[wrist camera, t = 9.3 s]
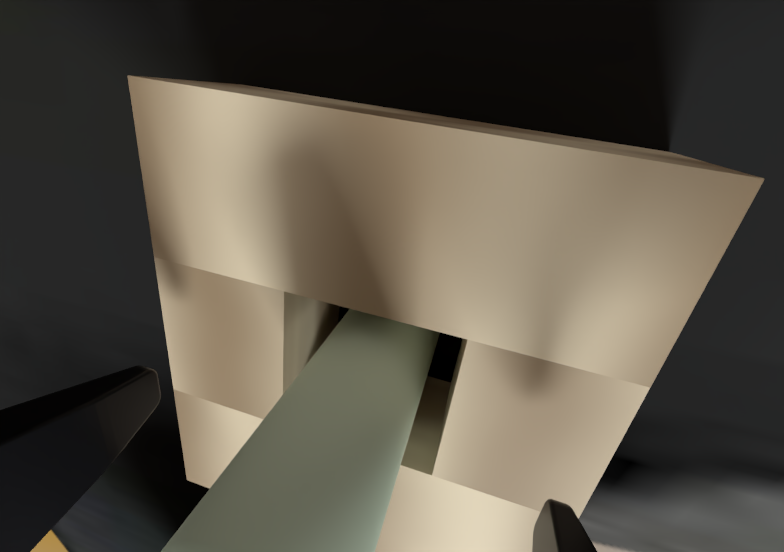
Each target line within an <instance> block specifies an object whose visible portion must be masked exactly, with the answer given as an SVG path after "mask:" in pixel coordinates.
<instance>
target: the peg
mask: <svg viewBox="0 0 784 552" xmlns="http://www.w3.org/2000/svg"><path fill="white" fill-rule="evenodd" d="M439 334H440V332H437V331H433V330H429V329H425V328H422V327H418V326H414V325H410V324H406V323H403V322H399V321H395V320H391V319H387V318H384V317H380V316H376V315H372V314H368V313H365V312H361V311H357V310H353V309H349V310H348V312H347V313H346V314H345V316H344V317H343V318H342V319H341V321H340V322H339V323H338V325H337V326H336V327H335V328H334V330H333V331H332V332H331V334H330V335H329V336H328V337H327V339H326V340H325V341H324V343H323V344H322V345H321V346H320V348H319V349H318V350H317V352H316V353H315V354H314V355H313V357H312V358H311V359H310V361H309V362H308V363H307V364H306V366H305V367H304V368H303V370H302V371H301V372H300V373H299V375H298V376H297V377H296V379H295V380H294V381H293V382H292V384H291V385H290V386H289V388H288V389H287V390H286V391H285V393H284V394H283V395H282V397H281V398H280V399H279V400H278V402H277V403H276V404H275V406H274V407H273V408H272V409H271V411H270V412H269V413H268V415H267V416H266V417H265V418H264V420H263V421H262V422H261V424H260V425H259V426H258V427H257V429H256V430H255V431H254V433H253V434H252V435H251V436H250V438H249V439H248V440H247V442H246V443H245V444H244V445H243V447H242V448H241V449H240V450H239V452H238V453H237V454H236V456H235V457H234V458H233V459H232V461H231V462H230V463H229V465H228V466H227V467H226V468H225V470H224V471H223V472H222V474H221V475H220V476H219V477H218V479H217V480H216V481H215V483H214V484H213V485H212V486H211V488H210V489H209V490H208V492H207V493H206V494H205V495H204V497H203V498H202V499H201V501H200V502H199V503H198V504H197V506H196V507H195V508H194V510H193V511H192V512H191V513H190V515H189V516H188V517H187V519H186V520H185V521H184V522H183V524H182V525H181V526H180V528H179V529H178V530H177V531H176V533H175V534H174V535H173V537H172V538H171V539H170V540H169V542H168V543H167V544H166V546H165V547H164V548H163V550H162V551H161V552H375V549H376V546H377V543H378V539H379V536H380V533H381V529H382V526H383V522H384V519H385V516H386V512H387V509H388V506H389V502H390V499H391V496H392V492H393V489H394V486H395V482H396V479H397V475H398V472H399V469H400V465H401V462H402V459H403V455H404V452H405V449H406V445H407V442H408V439H409V435H410V432H411V428H412V425H413V422H414V418H415V415H416V412H417V408H418V405H419V402H420V398H421V395H422V392H423V388H424V385H425V381H426V378H427V375H428V371H429V368H430V365H431V361H432V358H433V355H434V351H435V348H436V345H437V341H438V338H439Z"/></svg>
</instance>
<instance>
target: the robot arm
mask: <svg viewBox="0 0 784 552" xmlns="http://www.w3.org/2000/svg"><path fill="white" fill-rule="evenodd" d="M160 398H161V393H160V387H159V381H158V375H157V372H156V371H155V370H153V369H150V368H147V367H144V366H134V367H131V368H128V369H125V370H122V371H119V372H116V373H113V374H110V375H107V376H104V377H101V378H97V379H94V380H91V381H88V382H85V383H82V384H79V385H76V386H73V387H70V388H67V389H64V390H61V391H58V392H54V393H51V394H48V395H45V396H42V397H39V398H36V399H33V400H30V401H27V402H24V403H21V404H18V405H15V406H11V407H8V408H5V409H2V410H0V552H30V551H31V550H32V549H33V548H34V547H35V546H36V545H37V543H39V541H41V539H42V538H43V537H44V536H45V535H46V534H47V533H48V532H49V531H50V530H51V529H52V528H53V527H54V525H55V524H56V523H57V522H58V521H59V520H60V519H61V518H62V517H63V516H64V515H65V514H66V513H67V511H68V510H69V509H70V508H71V507H72V506H73V505H74V504H75V503H76V502H77V501H78V500H79V499H80V497H81V496H82V495H83V494H84V493H85V492H86V491H87V490H88V489H89V488H90V487H91V486H92V485H93V484H94V482H95V481H96V480H97V479H98V478H99V477H100V476H101V475H102V474H103V473H104V472H105V470H106V469H107V468H108V467H109V466H110V465H111V464H112V463H113V461H114V460H115V459H116V458H117V456H118V455H119V454H120V453H121V451H122V450H123V449H124V448H125V446H126V445H127V444H128V443H129V441H130V440H131V439H132V437H133V436H134V435H135V434H136V432H137V431H138V430H139V429H140V427H141V426H142V425H143V423H144V422H145V421H146V420H147V418H148V417H149V416H150V415H151V413H152V412H153V411H154V410H155V408H156V407H157V405H158V404H159V401H160ZM532 552H597V551H596V549H595V547H594V545H593V544H592V542H591V540H590V538H589V537H588V535H587V533H586V531H585V530H584V528H583V526H582V524H581V523H580V521H579V519H578V518H577V516H576V514H575V512H574V511H573V509H572V508H571V507H570V506H569V505H568V504H565V503H562V502H559V501H556V500H553V499H548V500H547V501H546V502H545V504H544V506H543V508H542V510H541V512H540V514H539V516H538V518H537V521H536V523H535V526H534V530H533V545H532Z"/></svg>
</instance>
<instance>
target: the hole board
mask: <svg viewBox="0 0 784 552" xmlns="http://www.w3.org/2000/svg"><path fill="white" fill-rule="evenodd" d="M128 82H129V89H130V96H131V103H132V109H133V116H134V123H135V130H136V137H137V143H138V150H139V157H140V164H141V171H142V178H143V184H144V191H145V198H146V205H147V212H148V218H149V225H150V232H151V239H152V246H153V253H154V259H155V266H156V273H157V280H158V287H159V293H160V300H161V307H162V314H163V321H164V328H165V334H166V341H167V348H168V355H169V362H170V368H171V375H172V382H173V389H174V396H175V402H176V409H177V416H178V423H179V430H180V437H181V443H182V450H183V457H184V464H185V471H186V477H187V480H188V481H191V482H194V483H196V484H199V485H201V486H204V487H207V488H209V489H210V488H211V486H212V485H213V484H214V483H215V481H216V480H217V479H218V477H219V476H220V475H221V474H222V472H223V471H224V470H225V468H226V467H227V466H228V465H229V463H230V462H231V461H232V459H233V458H234V457H235V456H236V454H237V453H238V452H239V450H240V449H241V448H242V447H243V445H244V444H245V443H246V442H247V440H248V439H249V438H250V436H251V435H252V434H253V433H254V431H255V430H256V429H257V427H258V426H259V425H260V424H261V422H262V421H263V420H264V418H265V417H266V416H267V415H268V413H269V412H270V411H271V409H272V408H273V407H274V406H275V404H276V403H277V402H278V400H279V399H280V398H281V397H282V395H283V394H284V393H285V391H286V390H287V389H288V388H289V386H290V385H291V384H292V382H293V381H294V380H295V379H296V377H297V376H298V375H299V373H300V372H301V371H302V370H303V368H304V367H305V366H306V364H307V363H308V362H309V361H310V359H311V358H312V357H313V355H314V354H315V353H316V352H317V350H318V349H319V348H320V346H321V345H322V344H323V343H324V341H325V340H326V339H327V337H328V336H329V335H330V334H331V332H332V331H333V330H334V328H335V327H336V326H337V325H338V319H339V307H340V306H342V307H345V308H349V309H353V310H357V311H361V312H365V313H368V314H372V315H376V316H380V317H384V318H387V319H391V320H395V321H399V322H403V323H406V324H410V325H414V326H418V327H422V328H425V329H429V330H433V331H437V332H441V333H444V334H448V335H452V336H456V337H460V338H462V341H461V345H460V349H459V353H458V357H457V361H456V365H455V369H454V372H453V376H452V380H451V382H447V381H444V380H440V379H437V378H433V377H430V376H427V378H426V381H425V385H424V388H423V392H422V395H421V398H420V402H419V405H418V408H417V412H416V415H415V418H414V422H413V425H412V428H411V432H410V435H409V439H408V442H407V445H406V449H405V452H404V455H403V459H402V462H401V465H400V469H399V472H398V475H397V479H396V482H395V486H394V489H393V492H392V496H391V499H390V502H389V506H388V509H387V512H386V516H385V519H384V522H383V526H382V529H381V533H380V536H379V539H378V543H377V546H376V549H375V552H532V545H533V530H534V526H535V523H536V521H537V518H538V516H539V514H540V512H541V510H542V508H543V506H544V504H545V502H546V501H547V500H548V499H553V500H556V501H559V502H562V503H565V504H568V505H569V506H570V507H571V508H572V509H573V511H574V512H575V514H576V516H577V518H578V519H579V517H580V515H581V513H582V511H583V509H584V508H585V506H586V504H587V502H588V500H589V499H590V497H591V495H592V493H593V491H594V489H595V488H596V486H597V484H598V482H599V480H600V478H601V477H602V475H603V473H604V471H605V469H606V468H607V466H608V464H609V462H610V460H611V458H612V457H613V455H614V453H615V451H616V449H617V447H618V446H619V444H620V442H621V440H622V438H623V436H624V435H625V433H626V431H627V429H628V427H629V426H630V424H631V422H632V420H633V418H634V416H635V415H636V413H637V411H638V409H639V407H640V405H641V404H642V402H643V400H644V398H645V396H646V394H647V393H648V391H649V389H650V387H651V385H652V384H653V382H654V380H655V378H656V376H657V374H658V373H659V371H660V369H661V367H662V365H663V363H664V362H665V360H666V358H667V356H668V354H669V353H670V351H671V349H672V347H673V345H674V343H675V342H676V340H677V338H678V336H679V334H680V332H681V331H682V329H683V327H684V325H685V323H686V321H687V320H688V318H689V316H690V314H691V312H692V311H693V309H694V307H695V305H696V303H697V301H698V300H699V298H700V296H701V294H702V292H703V290H704V289H705V287H706V285H707V283H708V281H709V279H710V278H711V276H712V274H713V272H714V270H715V269H716V267H717V265H718V263H719V261H720V259H721V258H722V256H723V254H724V252H725V250H726V248H727V247H728V245H729V243H730V241H731V239H732V238H733V236H734V234H735V232H736V230H737V228H738V227H739V225H740V223H741V221H742V219H743V217H744V216H745V214H746V212H747V210H748V208H749V206H750V205H751V203H752V201H753V199H754V197H755V196H756V194H757V192H758V190H759V188H760V186H761V185H762V183H763V181H764V178H760V177H757V176H753V175H749V174H746V173H742V172H739V171H735V170H732V169H728V168H725V167H721V166H718V165H714V164H711V163H707V162H704V161H700V160H696V159H693V158H689V157H686V156H682V155H679V154H675V153H672V152H667V151H661V150H654V149H648V148H642V147H635V146H629V145H622V144H616V143H610V142H603V141H597V140H591V139H584V138H578V137H572V136H565V135H559V134H553V133H546V132H540V131H534V130H527V129H521V128H514V127H508V126H502V125H495V124H489V123H483V122H476V121H470V120H464V119H457V118H451V117H445V116H438V115H432V114H425V113H419V112H413V111H406V110H400V109H394V108H387V107H381V106H375V105H368V104H362V103H356V102H349V101H343V100H337V99H330V98H324V97H317V96H311V95H305V94H298V93H292V92H286V91H279V90H273V89H267V88H260V87H254V86H248V85H241V84H229V83H216V82H204V81H191V80H179V79H167V78H154V77H142V76H129V75H128Z"/></svg>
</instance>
